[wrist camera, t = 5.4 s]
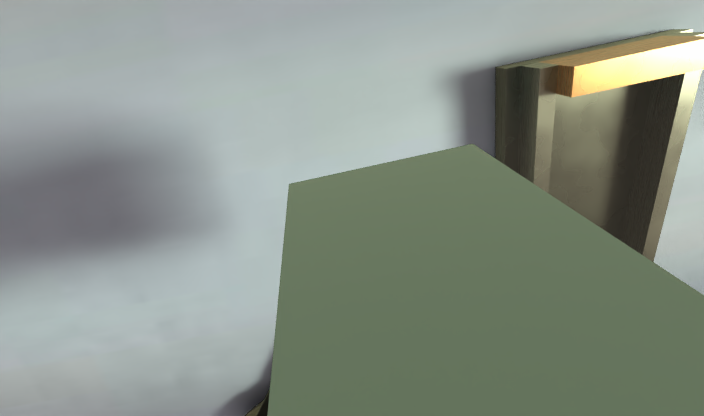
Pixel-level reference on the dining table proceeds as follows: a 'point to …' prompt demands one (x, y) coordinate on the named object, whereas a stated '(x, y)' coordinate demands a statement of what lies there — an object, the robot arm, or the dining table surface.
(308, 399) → the module
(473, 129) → the dining table surface
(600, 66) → the rail
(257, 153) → the dining table surface
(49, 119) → the dining table surface
